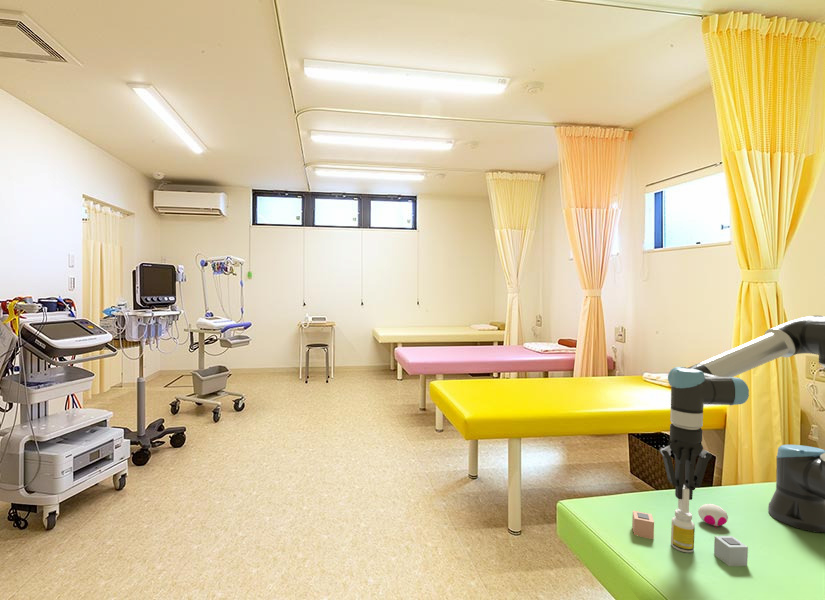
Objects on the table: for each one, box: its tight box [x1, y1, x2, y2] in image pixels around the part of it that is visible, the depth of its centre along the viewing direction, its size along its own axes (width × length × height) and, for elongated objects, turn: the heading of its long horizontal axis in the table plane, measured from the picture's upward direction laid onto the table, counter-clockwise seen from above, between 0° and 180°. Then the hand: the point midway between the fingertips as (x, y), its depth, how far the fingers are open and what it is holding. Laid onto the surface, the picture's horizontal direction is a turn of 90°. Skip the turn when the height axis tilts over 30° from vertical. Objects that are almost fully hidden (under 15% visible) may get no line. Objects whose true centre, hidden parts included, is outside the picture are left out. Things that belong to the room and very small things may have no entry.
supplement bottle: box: [670, 508, 696, 553], centre depth 118 cm, size 5×5×10 cm
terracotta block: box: [631, 510, 655, 540], centre depth 125 cm, size 5×5×5 cm
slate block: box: [713, 535, 749, 567], centre depth 113 cm, size 5×5×5 cm
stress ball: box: [697, 503, 729, 530], centre depth 130 cm, size 8×8×7 cm
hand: (683, 510), depth 118 cm, fingers closed
